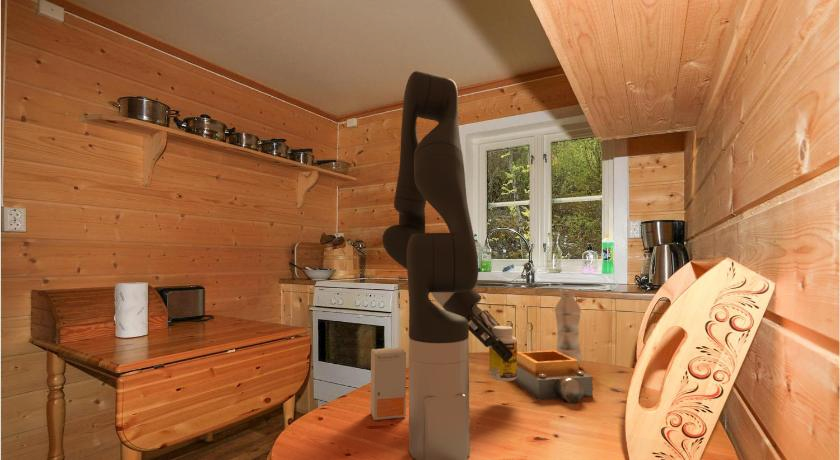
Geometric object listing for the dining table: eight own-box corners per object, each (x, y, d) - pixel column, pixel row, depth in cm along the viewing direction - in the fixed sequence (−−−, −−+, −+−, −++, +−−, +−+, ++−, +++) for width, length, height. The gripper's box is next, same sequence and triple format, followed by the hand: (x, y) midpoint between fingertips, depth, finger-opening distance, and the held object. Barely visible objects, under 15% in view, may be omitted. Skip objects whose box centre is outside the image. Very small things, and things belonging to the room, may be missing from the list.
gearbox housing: (601, 401, 88) (600, 368, 88) (545, 405, 85) (545, 371, 86) (553, 373, 107) (552, 346, 107) (507, 376, 105) (506, 349, 105)
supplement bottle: (503, 383, 84) (502, 330, 85) (483, 377, 89) (483, 326, 89) (523, 379, 87) (522, 327, 88) (503, 373, 92) (502, 324, 92)
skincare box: (373, 421, 78) (373, 353, 78) (370, 413, 82) (370, 348, 82) (406, 417, 79) (406, 351, 80) (401, 409, 83) (401, 346, 84)
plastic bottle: (549, 365, 115) (548, 289, 116) (569, 362, 118) (567, 288, 119) (567, 371, 109) (566, 291, 110) (587, 368, 112) (586, 290, 113)
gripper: (458, 283, 85) (521, 349, 80) (473, 279, 98) (528, 336, 94) (432, 309, 86) (493, 376, 81) (450, 302, 100) (504, 359, 95)
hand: (511, 354), depth 88 cm, fingers closed on supplement bottle, 5 cm apart
